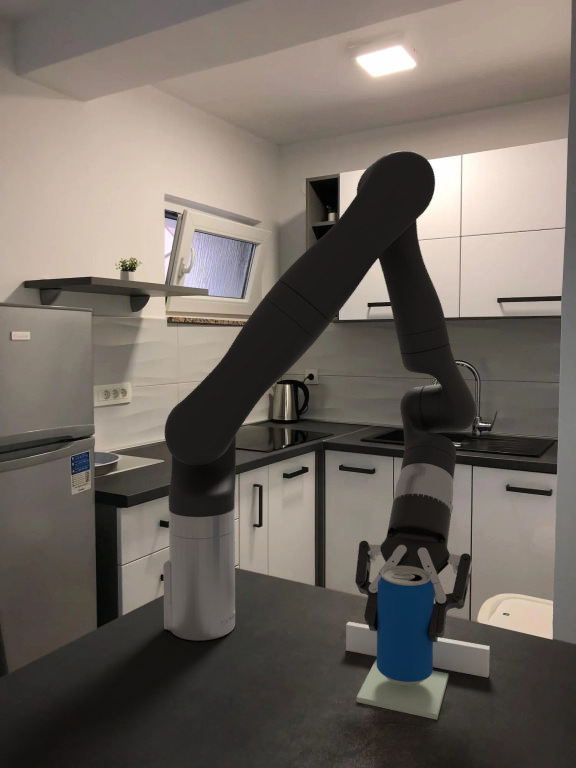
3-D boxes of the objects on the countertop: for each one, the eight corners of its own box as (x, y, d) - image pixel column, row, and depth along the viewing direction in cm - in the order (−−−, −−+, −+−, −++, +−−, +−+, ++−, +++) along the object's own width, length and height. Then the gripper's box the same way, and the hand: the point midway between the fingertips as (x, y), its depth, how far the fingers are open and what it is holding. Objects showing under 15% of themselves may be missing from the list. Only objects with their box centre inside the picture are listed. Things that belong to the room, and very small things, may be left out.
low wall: (346, 650, 84) (346, 624, 83) (348, 646, 85) (348, 621, 84) (488, 677, 77) (488, 649, 77) (488, 673, 78) (489, 646, 78)
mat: (356, 702, 72) (356, 696, 72) (375, 664, 80) (375, 659, 80) (437, 719, 68) (437, 714, 68) (448, 678, 77) (448, 673, 77)
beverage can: (433, 691, 71) (435, 587, 70) (374, 685, 72) (375, 582, 71) (431, 662, 77) (433, 566, 76) (378, 657, 78) (379, 562, 77)
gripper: (363, 486, 82) (335, 611, 72) (477, 497, 77) (465, 633, 67) (372, 515, 88) (348, 635, 78) (480, 527, 82) (469, 657, 72)
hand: (402, 633), depth 72 cm, fingers closed on beverage can, 6 cm apart
